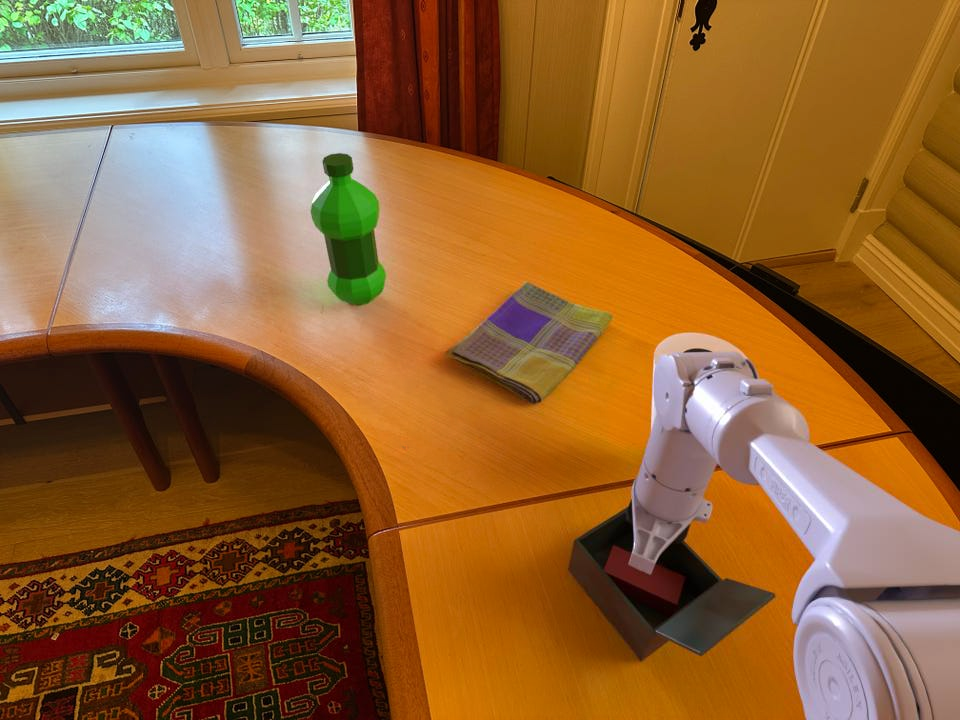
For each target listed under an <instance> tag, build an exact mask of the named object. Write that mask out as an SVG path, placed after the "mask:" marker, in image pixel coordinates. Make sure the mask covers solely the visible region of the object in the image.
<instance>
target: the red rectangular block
mask: <svg viewBox="0 0 960 720" xmlns="http://www.w3.org/2000/svg"><path fill="white" fill-rule="evenodd" d="M631 554H632V553H630V552H628V551H626V550H623V549H621V548H619V547H617V546H614V545H613V547H612V549H611V552H610V554H609V557H608V559H607V562H606V564H605V567H604V569H603V570H604V571H605V573H606V574H607V575H608V576H609V577H610V578H611V580H612V581H613V582H614V583H615V584H616V586H617V587H618V588H619V589H620V590H621V592H622V593H623V594H624V595H625V596H626V597H627V598H630V599H632V600H634V601H636V602H638V603H640V604H642V605H645V606H647V607H649V608H651V609H653V610H655V611H657V612H660V613H662V614H664V615H666V616H668V617H671V616H672V615H673V613H674V611H675V609H676V607H677V605H678V601H679V598H680V594H681V591H682V588H683V584H684V581H685V576H682V575H680V574H678V573H676V572H673V571H671V570H669V569H667V568H664V567H662V566H660V565H657V564H655V566H654V568H653V571H652V573H651V575H650V574H648V573H645V572H644V571H640V570H638V569H636V567H635V568H634V567H632V566H630V565H628V563H629V560H630V557H631Z"/></svg>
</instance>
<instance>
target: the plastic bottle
mask: <svg viewBox="0 0 960 720" xmlns="http://www.w3.org/2000/svg"><path fill="white" fill-rule="evenodd" d="M322 167H323V172H324V174H325V175H326V176H328V181H327V183H325V184H324V185H323V186H322V187H321V188H320V189H319V191H317V192H316V193H315V195H314V198H313V200H312V203H311V208H310V216H311V219H312V223H313V224H314V226H315V228H316V229H317V230H319V232H320V233H322V234H323V237H324V242H325V247H326V251H327V257H328V261H329V267H330V269H329V273H328V277H327V286H328V288H329V290H330V291H331V292H332V293H333V294H334V295H335V297H337V299H338V300H339V301H341V302H344V303H348V304H349V305H351V306H357V307H358V306H364V305H368V304H370V303H371V302H372V301H374V300H375V299H376V298H377V297H378V296H380V295H381V294H382V293H383V291H384V288H385V283H386V279H387V274H386V269H385V268H384V266H383V264H381V262H380V261H379V255H378V249H377V241H376V233H375V229H376V228H377V225H378V221H379V217H380V201H379V199H378V197H377V196H376V194H375V193H374V192H373V191H371V190H370V189H369V187H367V186H365V185H363V184H362V183H361V182H359V181H357V180H355V179H353V178H352V174H353V173H354V163H353V157H352V156H351V155H349V154H348V153H341V152H337V153H331V154H328V155H326V156H325V157H323V158H322Z"/></svg>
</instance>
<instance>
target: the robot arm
mask: <svg viewBox="0 0 960 720" xmlns="http://www.w3.org/2000/svg"><path fill="white" fill-rule="evenodd" d="M747 358H748V357H747ZM747 358H743V356H742V355H741V354H739V353H738V352H691V353H672V354H671V355H669V356H668V355H666V354H663V355H661V356H660V358H659V359H658V361H657V364H656V367H655V372H654V384H653V383H652V388H653V389H654V402H655V407H656V412H657V414H656V417H655V420H654V424H653V427H652V430H651V429H650V435H649V436H648V437H649V438H648V440H647V445H646V447H645V451H644V455H643V457H642V461H641V465H640V468H639V470H638V474H637V476H636V477H635V478H634V480H633V483H632V487H631V499H630V500H629V503H628V505H627V507H628V508H627V507H626V508H627V511H626V520H627V522H628V523H629V524H630V525H631V526H632V528H633V531H634V547H633V551H632V554H631V557H630V560H629V563H628V565H630V566H632V567H634V568H635V567H636V569H638V570H640V571H644V572H645V573H648V574H650V575H651V573H652V571H653V568H654V566H655V563H656V561H657V559H658V557H659V556H660V554H661V553H662V552H663V551H664V550H665V549H666V548H667V547H668V546H669V545H670V544H675V543H678V544H679V543H682V542H683V541H685V540H686V539H687V536H688V533H689V531H690V527H691V524H692V522H694V521H697V522H700V523H703V524H706V523H707V522H708V521H709V519H710V517H711V514H712V511H713V509H714V507H713V506H714V505H713V504H712V502H711V501H710V500H707V499H705V498H704V495H705V493H706V490H707V488H708V485H709V484H710V481H711V479H712V476H713V474H714V472H715V470H716V467H717V465H718V466H719V467H720V469H722V470H723V472H724V473H725V474H726V475H727V476H729V477H730V478H731V479H733V480H735V481H737V482H739V483H741V484H745V485H749V486H750V485H752V486H760V487H761V488H762V489H763V491H764V492H765V494H766V495H767V496H768V497H769V499H770V500H771V502H772V503H773V504H774V506H775V507H776V508H777V510H778V511H779V512H780V514H781V515H782V516H783V518H784V519H785V521H786V522H787V523H788V524H789V525H790V527H791V529H792V530H793V532H794V533H795V535H797V537H798V538H799V540H800V541H801V542H802V543H803V545H804V547H805V548H806V549H807V550H808V552H809V553H810V555H811V556H812V557H813V559H814V561H813V562H812V564H811V565H810V566H809V568H808V569H807V570H806V572H805V573H804V574H803V576H802V578H801V580H800V582H799V583H798V586H797V589H796V591H795V595H794V600H793V603H792V609H791V619H792V623H793V625H795V626H797V627H796V631H795V635H794V639H793V667H794V675H795V679H796V684H797V689H798V692H799V696H800V700H801V702H802V707H803V712H804V716H805V720H960V531H959V530H957V529H955V528H952V527H950V526H948V525H945V524H943V523H940V522H938V521H936V520H933V519H931V518H929V517H927V516H925V515H924V514H921V513H919V512H918V511H917V510H915V509H914V508H912V507H910V506H909V505H907V504H905V503H904V502H902V501H901V500H900V499H898V498H897V497H894V496H893V495H892V494H890V493H889V492H887V491H886V490H884V489H882V488H881V487H879V486H878V485H876V484H875V483H873V482H872V481H870V480H869V479H867V478H865V477H864V476H863V475H861V474H859V473H858V472H856V471H855V470H853V469H852V468H850V467H848V466H847V464H846V465H845V464H844V463H843V462H841V461H840V460H838V459H837V458H835V457H833V456H832V455H830V454H829V453H827V452H826V451H824V450H823V449H821V448H820V447H818V446H816V445H815V444H813V443H812V442H810V437H811V436H810V428H809V425H808V421H807V420H806V418H805V416H804V415H803V414H802V412H800V410H799V409H798V408H796V407H795V406H793V405H792V404H791V403H790V402H788V401H787V400H785V399H784V398H783V397H782V396H780V395H778V394H777V393H776V392H774V388H775V385H773V384H772V383H771V382H769V381H768V380H767V379H765V378H760V377H759V373H758V371H757V368H756V366H755V364H754V362H752V360H751V359H749V358H748V359H747Z"/></svg>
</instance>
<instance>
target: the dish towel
mask: <svg viewBox="0 0 960 720" xmlns="http://www.w3.org/2000/svg"><path fill="white" fill-rule="evenodd" d="M612 319H613V313H611V312H609V311H603V310H600V309H595V308H590V307H587V306H582V305H580V304H576V303H573V302H570V301H569V300H566V299H565V298H563V297H560V296H559V295H556V294H554V293H552V292H549V291H547V290H545V289H544V288H541V287H539V286H537V285H535V284H534V283H531V282H530V281H525V282H524V283H523V284H522V285H521V286H520V287H519V288H518V289H517V290H515V292H513V293H512V294H511V295H510V296H509V297H508V298H507V299H506V300H505V301H504V302H503V303H502V304H501V305H500V306H499V307H498V308H497V309H496V310H495V311H494V312H493V313H491V314H490V315H489V316H488V317H487V318H486V319H485V320H484V321H483V322H482V323H481V324H479V325H478V326H477V327H475V328H474V329H473V330H472V331H471V332H470V333H469V334H468V335H467V336H465V337H464V338H462V339H461V340H460V341H459V342H457V343H456V344H454V345H452V346H451V347H450V348H448V349H447V350H446V351H445V353H444V354H445V356H446V357H448V358H451V359H452V360H454V361H456V362H458V363H460V364H461V365H464V366H466V367H468V368H470V369H472V370H473V371H475V372H477V373H479V374H481V375H483V376H484V377H486V378H487V379H489V380H491V381H492V382H494V383H495V384H497V385H498V386H500V387H502V388H504V389H505V390H507V391H509V392H510V393H512V394H514V395H516V396H518V397H519V398H521V399H522V400H524V401H525V402H528V403H530V404H537V403H542V402H543V400H545V398H546V397H547V396H549V394H551V393H552V392H553V391H554V390H555V389H556V388H557V386H558V385H559V384H561V382H562V381H563V380H564V379H565V378H566V377H567V375H569V373H570V372H572V371H573V370H574V369H575V367H576V366H577V365H578V363H580V361H581V360H582V358H583V357H584V356H585V355H586V354H587V352H588V350H590V349H591V347H592V346H593V345H594V343H595V342H597V340H598V338H599V337H600V336H601V335H602V334H603V332H604V331H605V329H606V328H607V326H608V325H609V323H610V322H611V321H612Z"/></svg>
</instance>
